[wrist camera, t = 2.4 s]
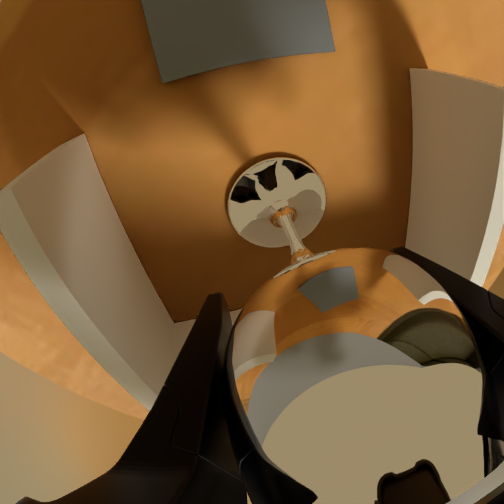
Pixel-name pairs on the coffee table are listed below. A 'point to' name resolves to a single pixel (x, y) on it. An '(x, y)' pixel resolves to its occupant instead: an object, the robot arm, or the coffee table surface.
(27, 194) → the corner wall
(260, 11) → the felt mat
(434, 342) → the wineglass
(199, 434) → the robot arm
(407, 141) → the coffee table surface
